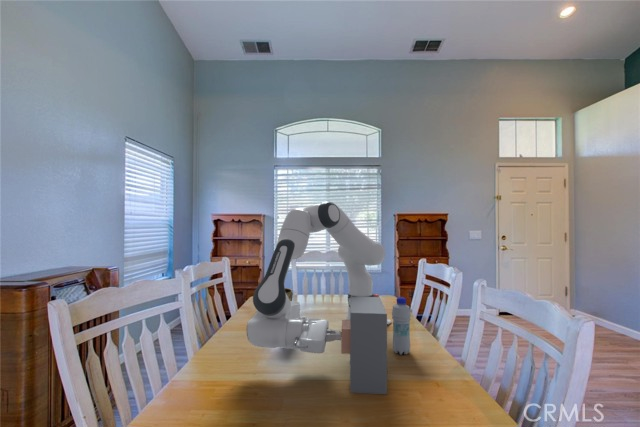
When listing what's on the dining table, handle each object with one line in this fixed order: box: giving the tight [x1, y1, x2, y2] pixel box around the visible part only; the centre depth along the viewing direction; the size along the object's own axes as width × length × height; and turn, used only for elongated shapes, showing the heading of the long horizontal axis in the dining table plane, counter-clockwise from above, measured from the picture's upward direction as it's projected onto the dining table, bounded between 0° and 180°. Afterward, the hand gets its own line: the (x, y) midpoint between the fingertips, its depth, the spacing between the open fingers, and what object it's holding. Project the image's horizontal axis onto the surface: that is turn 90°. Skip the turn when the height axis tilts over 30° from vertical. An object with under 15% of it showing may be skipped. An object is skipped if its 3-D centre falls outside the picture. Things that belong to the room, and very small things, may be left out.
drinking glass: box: [288, 300, 301, 319], centre depth 126 cm, size 7×7×15 cm
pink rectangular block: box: [340, 319, 351, 355], centre depth 98 cm, size 5×9×7 cm, turn 175°
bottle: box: [391, 296, 411, 356], centre depth 115 cm, size 7×7×20 cm
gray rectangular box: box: [349, 296, 388, 395], centre depth 97 cm, size 10×20×22 cm, turn 175°
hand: (341, 335), depth 98 cm, fingers closed
